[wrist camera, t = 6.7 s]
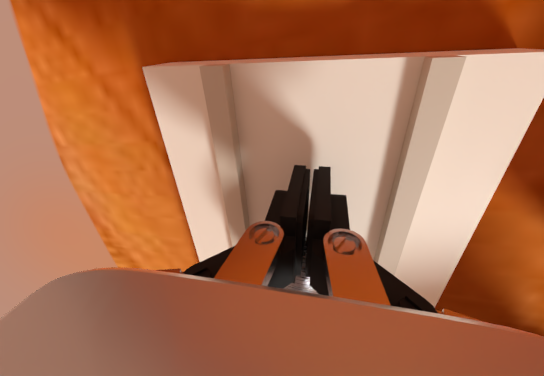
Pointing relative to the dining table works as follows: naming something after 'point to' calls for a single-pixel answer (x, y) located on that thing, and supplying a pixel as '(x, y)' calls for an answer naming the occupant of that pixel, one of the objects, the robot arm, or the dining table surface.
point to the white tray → (351, 144)
